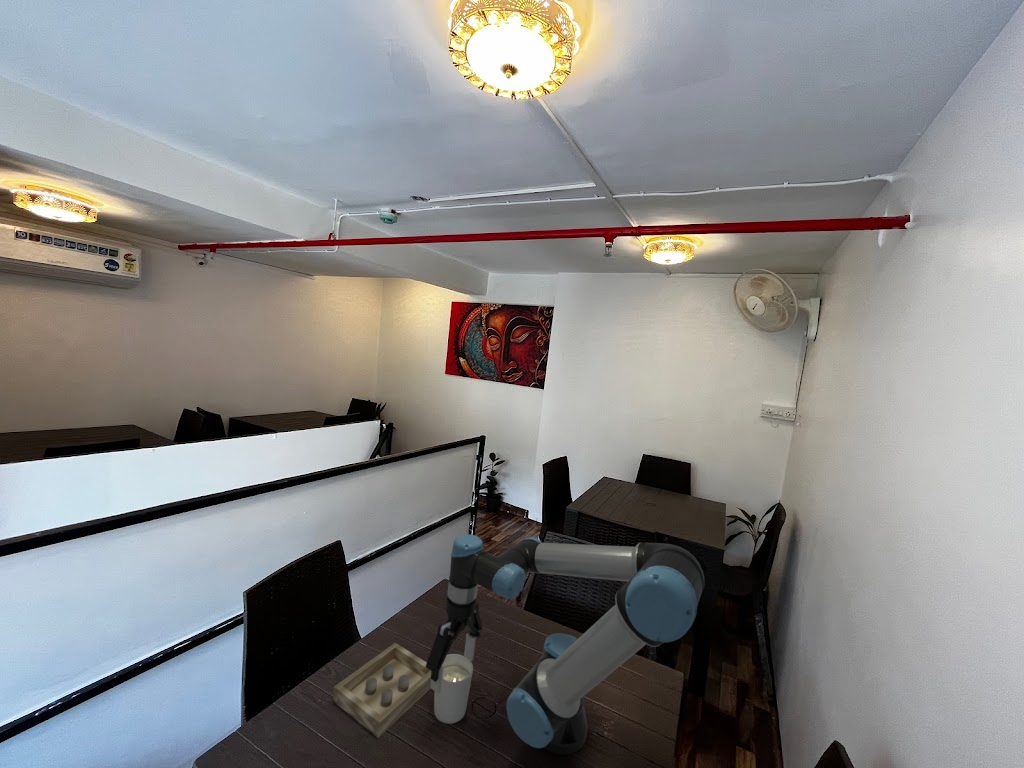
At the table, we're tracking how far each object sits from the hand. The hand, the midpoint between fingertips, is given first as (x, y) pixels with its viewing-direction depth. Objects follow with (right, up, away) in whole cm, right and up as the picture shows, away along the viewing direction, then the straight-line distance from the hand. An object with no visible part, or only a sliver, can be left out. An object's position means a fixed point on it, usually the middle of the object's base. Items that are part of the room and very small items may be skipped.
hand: (452, 673), depth 110 cm
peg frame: (-18, -8, +4) cm, 20 cm away
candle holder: (-1, -10, +1) cm, 10 cm away
